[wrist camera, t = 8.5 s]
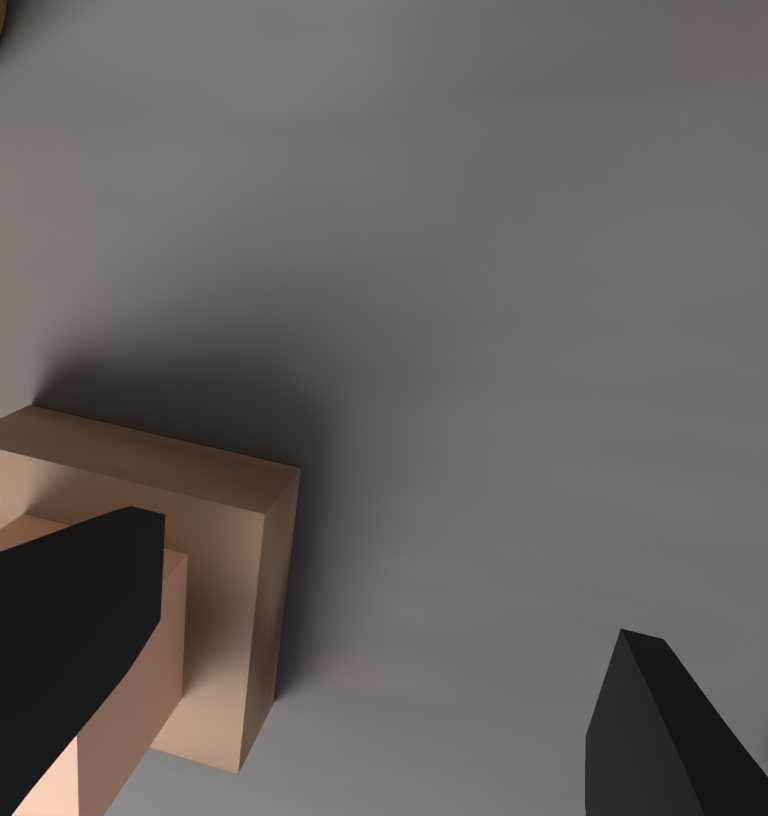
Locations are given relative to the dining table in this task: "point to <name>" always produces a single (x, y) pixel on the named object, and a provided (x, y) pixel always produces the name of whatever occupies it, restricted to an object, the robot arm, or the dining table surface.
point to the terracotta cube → (114, 702)
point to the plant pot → (2, 13)
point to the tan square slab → (184, 532)
